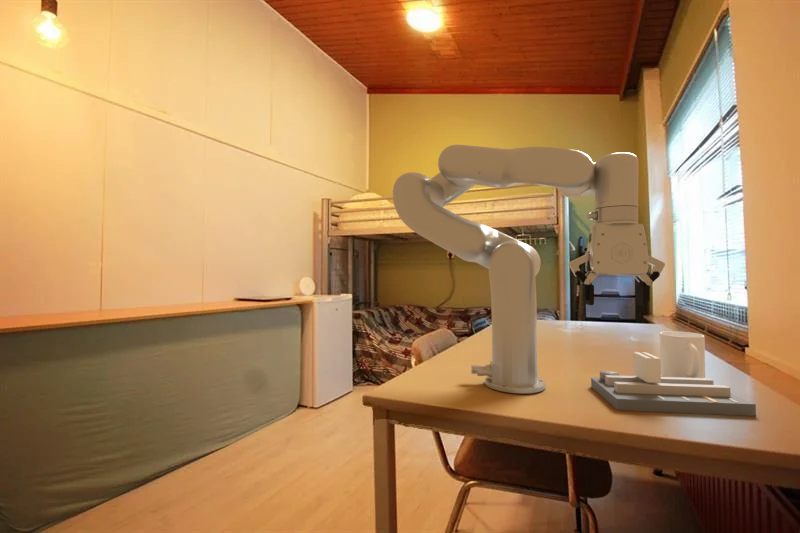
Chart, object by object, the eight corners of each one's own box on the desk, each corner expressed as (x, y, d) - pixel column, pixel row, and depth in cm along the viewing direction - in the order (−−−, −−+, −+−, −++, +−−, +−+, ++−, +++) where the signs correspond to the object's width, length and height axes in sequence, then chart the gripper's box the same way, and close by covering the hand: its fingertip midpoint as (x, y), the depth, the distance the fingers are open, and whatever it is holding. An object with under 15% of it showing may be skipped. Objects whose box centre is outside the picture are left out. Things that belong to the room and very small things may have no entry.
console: (617, 410, 70) (616, 389, 70) (591, 386, 84) (591, 369, 84) (755, 416, 66) (755, 394, 66) (705, 390, 80) (704, 372, 80)
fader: (645, 391, 73) (644, 357, 73) (632, 383, 78) (631, 351, 78) (662, 392, 72) (662, 358, 72) (648, 383, 78) (648, 351, 78)
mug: (721, 391, 80) (720, 340, 80) (674, 387, 82) (673, 339, 83) (695, 375, 92) (694, 332, 92) (655, 373, 94) (654, 330, 94)
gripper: (575, 216, 74) (574, 305, 74) (674, 215, 72) (673, 308, 72) (564, 220, 82) (564, 302, 82) (654, 220, 79) (653, 304, 79)
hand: (615, 305), depth 77 cm, fingers open, 9 cm apart
